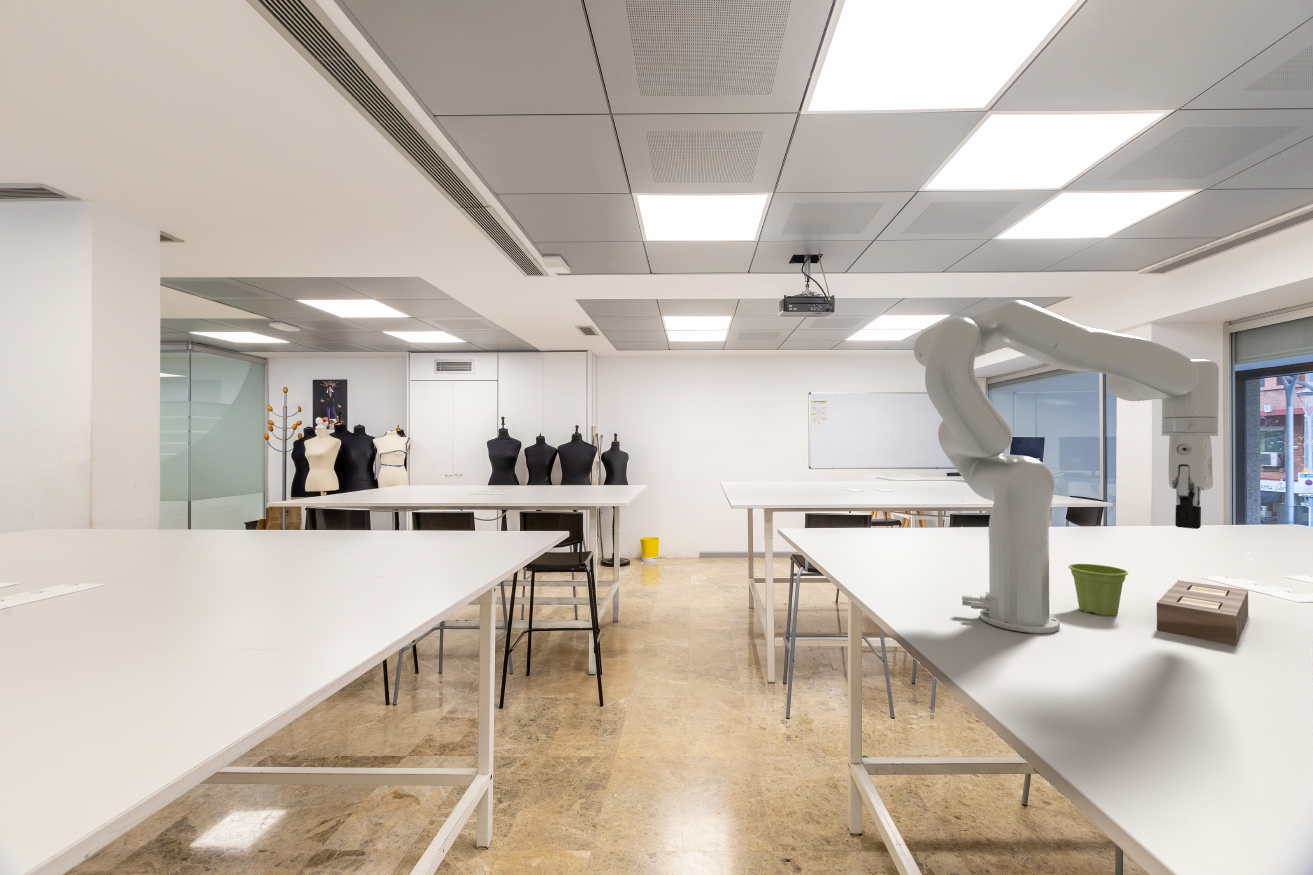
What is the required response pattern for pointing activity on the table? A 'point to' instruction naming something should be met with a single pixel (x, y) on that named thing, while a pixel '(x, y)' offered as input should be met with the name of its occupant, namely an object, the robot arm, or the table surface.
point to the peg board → (1203, 613)
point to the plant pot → (1098, 587)
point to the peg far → (1209, 590)
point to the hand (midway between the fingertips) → (1187, 527)
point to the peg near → (1200, 602)
